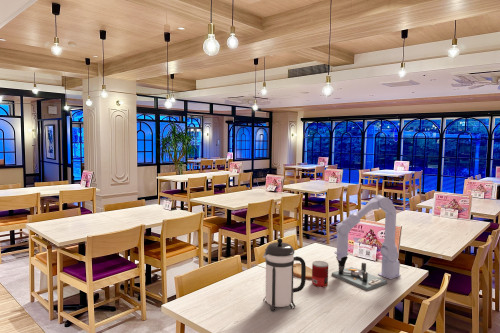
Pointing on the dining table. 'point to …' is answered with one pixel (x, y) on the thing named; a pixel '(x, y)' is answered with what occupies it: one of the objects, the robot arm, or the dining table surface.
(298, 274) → the slice of bread
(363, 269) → the capstan
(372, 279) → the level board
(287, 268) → the coffee press
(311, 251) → the dining table surface
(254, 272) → the dining table surface
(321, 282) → the canned food
